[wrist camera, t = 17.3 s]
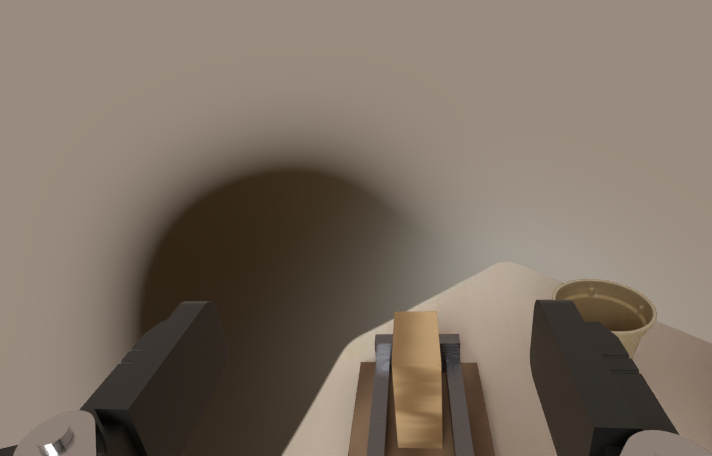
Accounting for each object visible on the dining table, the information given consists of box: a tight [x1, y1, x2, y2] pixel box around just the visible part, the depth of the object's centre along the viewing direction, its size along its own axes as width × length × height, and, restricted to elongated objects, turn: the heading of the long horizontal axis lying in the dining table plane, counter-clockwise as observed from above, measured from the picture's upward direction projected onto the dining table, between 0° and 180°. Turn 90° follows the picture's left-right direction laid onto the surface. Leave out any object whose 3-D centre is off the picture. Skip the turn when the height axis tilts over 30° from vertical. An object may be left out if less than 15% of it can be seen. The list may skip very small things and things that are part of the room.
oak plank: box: [392, 311, 443, 449], centre depth 41 cm, size 4×7×10 cm, turn 174°
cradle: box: [348, 334, 495, 456], centre depth 43 cm, size 13×14×6 cm
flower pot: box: [552, 279, 657, 359], centre depth 47 cm, size 9×9×9 cm
